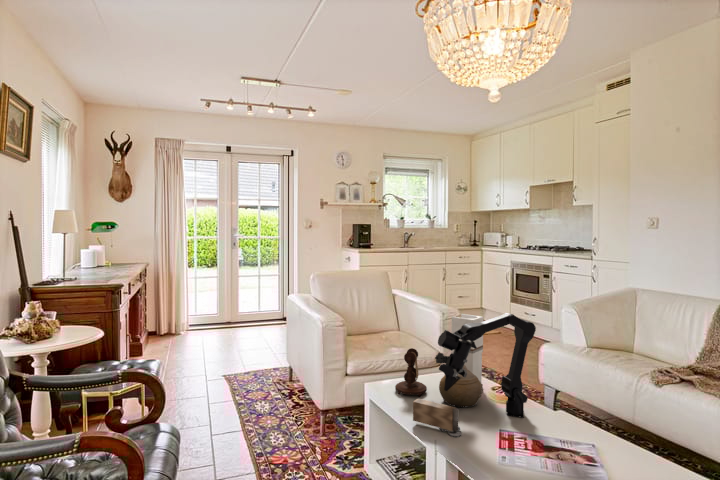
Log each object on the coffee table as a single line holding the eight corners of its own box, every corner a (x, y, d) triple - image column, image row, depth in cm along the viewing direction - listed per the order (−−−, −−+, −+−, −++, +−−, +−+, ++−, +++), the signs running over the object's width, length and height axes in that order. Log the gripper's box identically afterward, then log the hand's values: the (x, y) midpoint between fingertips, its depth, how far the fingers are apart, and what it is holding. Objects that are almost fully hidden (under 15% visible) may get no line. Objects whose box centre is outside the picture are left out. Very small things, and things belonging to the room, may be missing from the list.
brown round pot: (478, 396, 202) (479, 359, 201) (485, 412, 184) (486, 372, 184) (434, 393, 204) (435, 357, 203) (437, 409, 186) (438, 369, 186)
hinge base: (462, 432, 165) (462, 430, 165) (460, 438, 160) (460, 436, 160) (449, 430, 167) (449, 428, 167) (447, 435, 162) (447, 433, 162)
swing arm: (459, 428, 164) (460, 408, 164) (456, 432, 161) (456, 412, 161) (417, 417, 174) (417, 398, 174) (413, 420, 171) (413, 401, 171)
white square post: (482, 388, 212) (483, 316, 211) (472, 394, 204) (473, 319, 203) (461, 382, 219) (462, 313, 219) (450, 388, 211) (451, 316, 211)
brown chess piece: (424, 399, 197) (424, 355, 197) (392, 395, 201) (392, 352, 201) (428, 388, 211) (428, 347, 211) (398, 385, 216) (398, 345, 215)
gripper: (449, 347, 188) (436, 381, 187) (435, 344, 173) (419, 380, 172) (473, 359, 182) (459, 393, 181) (460, 356, 167) (444, 394, 166)
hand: (445, 390), depth 175 cm, fingers closed
